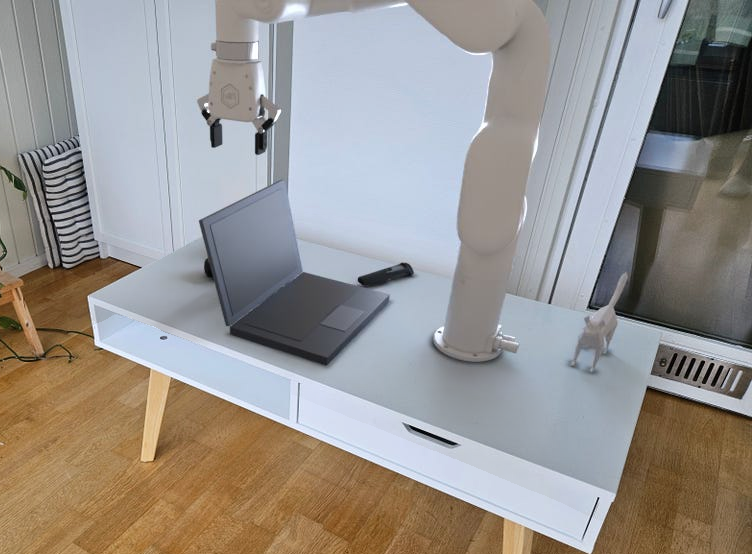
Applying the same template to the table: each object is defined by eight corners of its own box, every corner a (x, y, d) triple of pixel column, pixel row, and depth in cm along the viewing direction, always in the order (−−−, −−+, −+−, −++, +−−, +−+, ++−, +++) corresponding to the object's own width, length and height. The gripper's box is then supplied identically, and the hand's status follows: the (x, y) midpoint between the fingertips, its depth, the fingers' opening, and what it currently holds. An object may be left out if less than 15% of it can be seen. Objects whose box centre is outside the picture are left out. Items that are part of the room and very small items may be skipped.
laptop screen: (285, 179, 136) (281, 179, 136) (202, 220, 114) (198, 220, 115) (303, 271, 145) (299, 271, 145) (229, 326, 123) (225, 326, 123)
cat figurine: (561, 374, 114) (583, 305, 106) (592, 332, 127) (614, 267, 120) (587, 384, 111) (611, 313, 104) (616, 339, 125) (640, 273, 117)
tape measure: (206, 282, 143) (206, 267, 141) (202, 270, 149) (202, 255, 146) (236, 280, 144) (236, 265, 142) (231, 267, 150) (231, 253, 148)
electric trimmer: (352, 286, 143) (353, 273, 142) (403, 270, 150) (405, 258, 149) (363, 292, 141) (364, 279, 139) (414, 276, 148) (416, 263, 146)
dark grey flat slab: (388, 301, 137) (389, 293, 136) (326, 366, 115) (327, 357, 114) (302, 278, 145) (303, 271, 144) (229, 334, 124) (229, 326, 123)
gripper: (185, 50, 114) (189, 147, 123) (270, 58, 107) (268, 160, 117) (207, 46, 119) (210, 139, 129) (290, 53, 113) (287, 151, 122)
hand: (238, 149), depth 123 cm, fingers open, 9 cm apart
